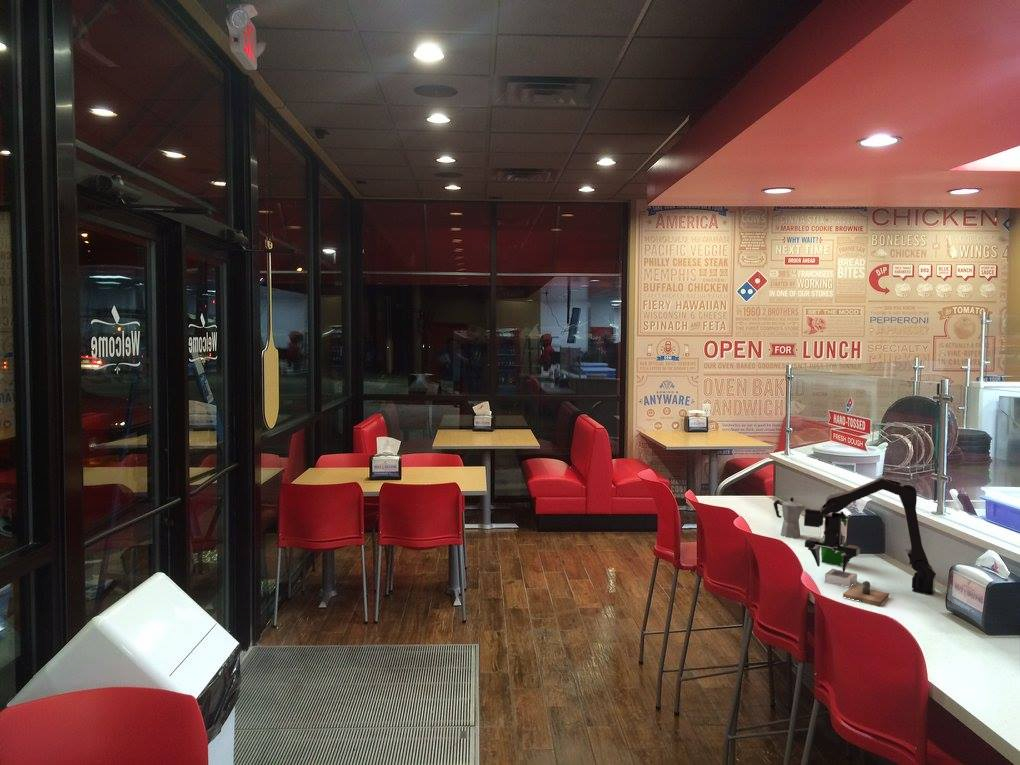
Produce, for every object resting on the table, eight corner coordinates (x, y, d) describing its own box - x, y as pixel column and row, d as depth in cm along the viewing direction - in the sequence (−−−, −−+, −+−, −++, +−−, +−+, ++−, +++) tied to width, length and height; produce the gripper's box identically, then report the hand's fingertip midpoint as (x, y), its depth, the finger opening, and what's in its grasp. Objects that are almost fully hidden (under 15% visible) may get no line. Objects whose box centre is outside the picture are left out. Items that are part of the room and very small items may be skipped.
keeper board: (888, 597, 259) (889, 580, 259) (879, 606, 250) (880, 589, 250) (852, 589, 267) (853, 573, 266) (843, 597, 258) (843, 581, 257)
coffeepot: (808, 536, 339) (810, 498, 338) (799, 540, 333) (801, 501, 332) (777, 530, 350) (778, 493, 349) (767, 533, 344) (769, 495, 343)
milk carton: (841, 566, 294) (843, 518, 293) (818, 562, 299) (820, 514, 298) (847, 562, 300) (849, 514, 299) (824, 557, 306) (826, 510, 305)
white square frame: (856, 581, 276) (857, 573, 276) (849, 587, 269) (850, 579, 269) (831, 576, 282) (832, 568, 281) (824, 581, 275) (824, 574, 275)
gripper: (865, 529, 277) (863, 569, 277) (814, 520, 289) (812, 559, 290) (856, 534, 268) (854, 576, 269) (804, 525, 280) (803, 565, 281)
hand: (831, 569), depth 277 cm, fingers open, 9 cm apart
